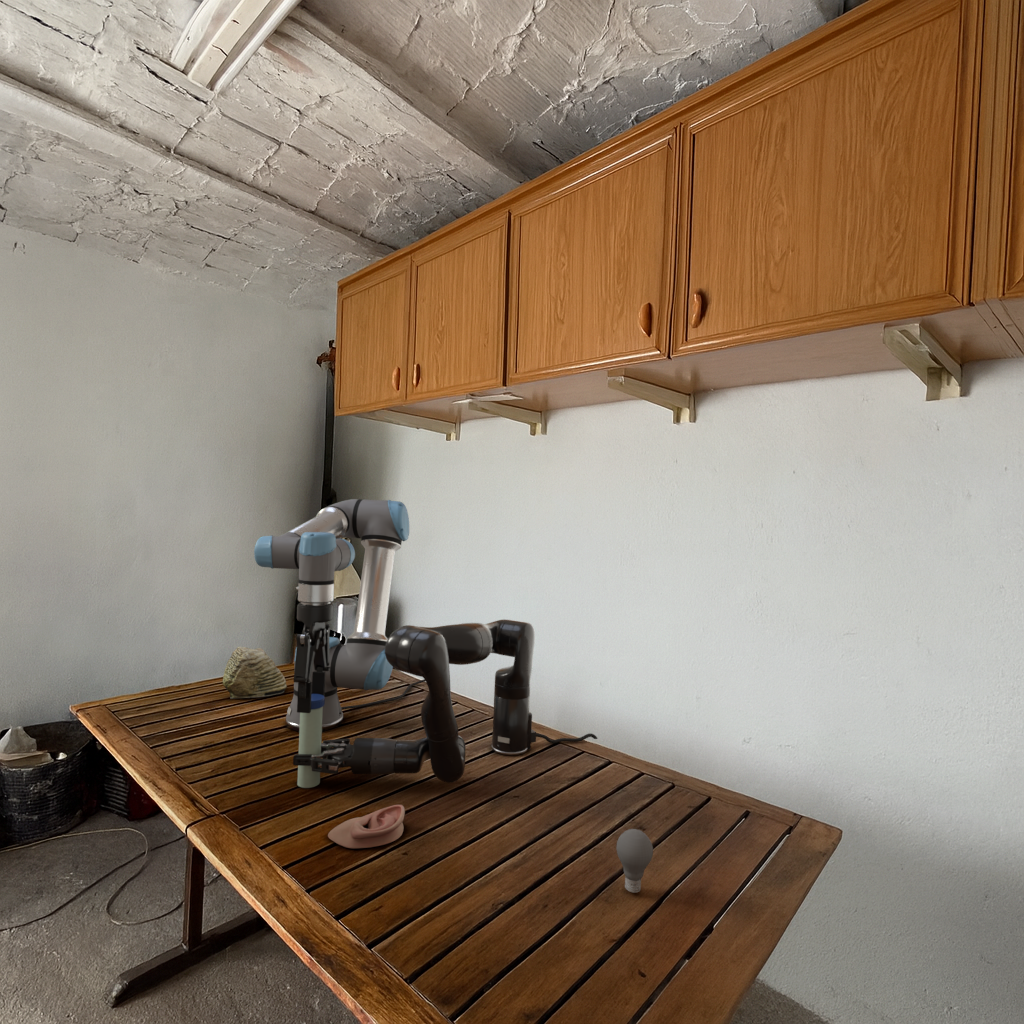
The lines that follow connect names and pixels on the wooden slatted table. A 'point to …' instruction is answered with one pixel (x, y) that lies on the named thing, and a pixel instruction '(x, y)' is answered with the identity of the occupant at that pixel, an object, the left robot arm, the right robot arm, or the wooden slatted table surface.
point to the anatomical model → (370, 828)
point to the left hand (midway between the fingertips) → (311, 706)
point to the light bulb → (634, 857)
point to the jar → (309, 745)
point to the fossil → (252, 674)
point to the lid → (317, 701)
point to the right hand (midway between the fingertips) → (297, 754)
